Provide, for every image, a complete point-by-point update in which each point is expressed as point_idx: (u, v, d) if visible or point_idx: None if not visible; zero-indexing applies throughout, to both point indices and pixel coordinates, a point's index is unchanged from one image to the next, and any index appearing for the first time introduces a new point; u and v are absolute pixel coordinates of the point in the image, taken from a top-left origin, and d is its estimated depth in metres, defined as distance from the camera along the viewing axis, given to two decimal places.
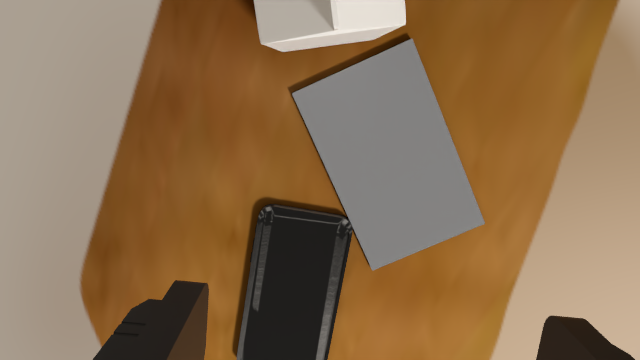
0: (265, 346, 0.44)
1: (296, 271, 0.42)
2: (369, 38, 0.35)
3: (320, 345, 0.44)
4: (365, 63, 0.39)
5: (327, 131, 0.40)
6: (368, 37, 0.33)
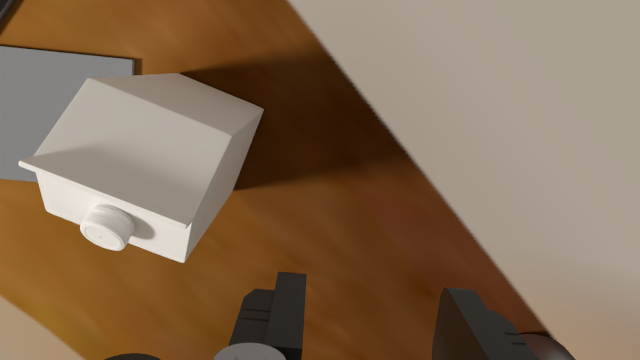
0: None
1: None
2: None
3: None
4: None
5: (80, 72, 0.38)
6: None
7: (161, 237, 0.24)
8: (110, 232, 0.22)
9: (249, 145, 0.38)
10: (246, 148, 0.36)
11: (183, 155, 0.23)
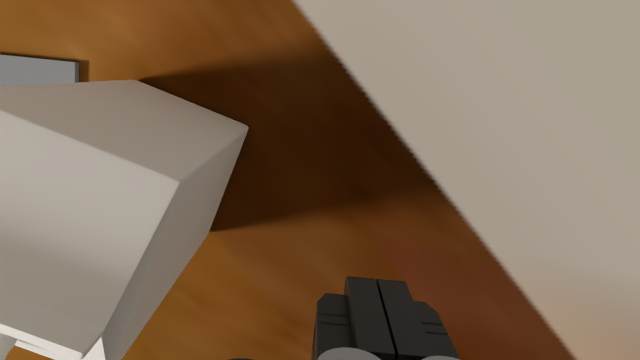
0: None
1: None
2: None
3: None
4: None
5: (6, 79, 0.28)
6: None
7: None
8: None
9: (229, 174, 0.29)
10: (224, 180, 0.27)
11: (94, 217, 0.14)
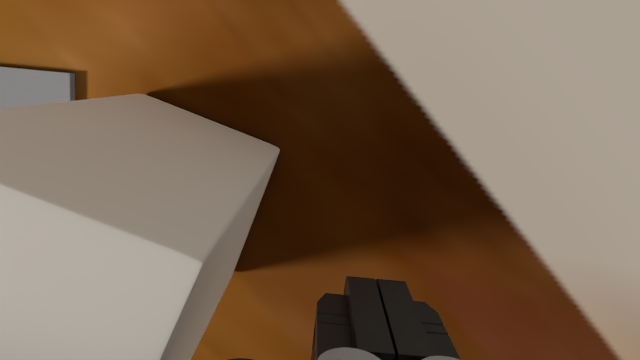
0: None
1: None
2: None
3: None
4: None
5: None
6: None
7: None
8: None
9: (257, 207, 0.24)
10: (252, 217, 0.22)
11: (69, 330, 0.09)
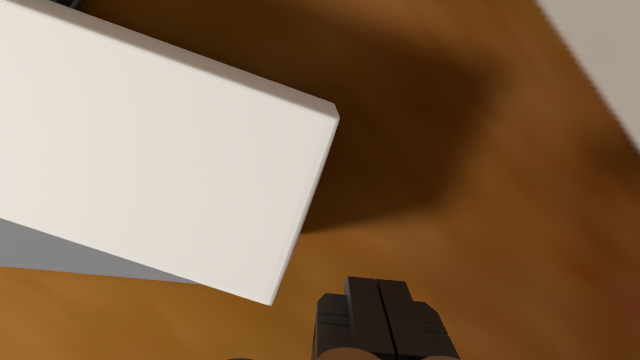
0: None
1: None
2: None
3: None
4: None
5: None
6: None
7: None
8: None
9: (282, 189, 0.17)
10: (230, 168, 0.17)
11: None
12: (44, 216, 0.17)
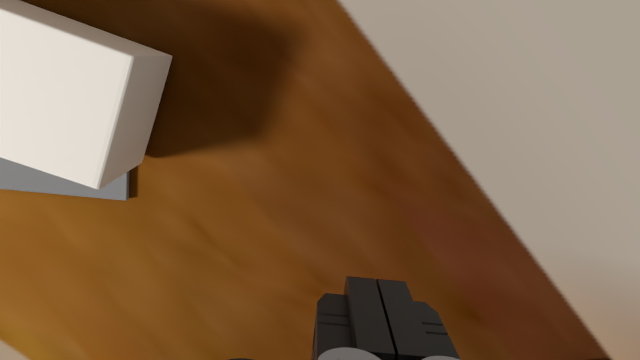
0: None
1: None
2: None
3: None
4: None
5: None
6: None
7: None
8: None
9: (98, 105, 0.25)
10: (61, 90, 0.25)
11: None
12: None
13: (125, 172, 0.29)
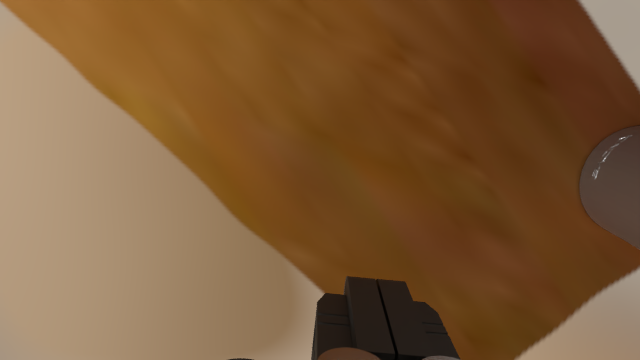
0: None
1: None
2: None
3: None
4: None
5: None
6: None
7: None
8: None
9: None
10: None
11: None
12: None
13: None
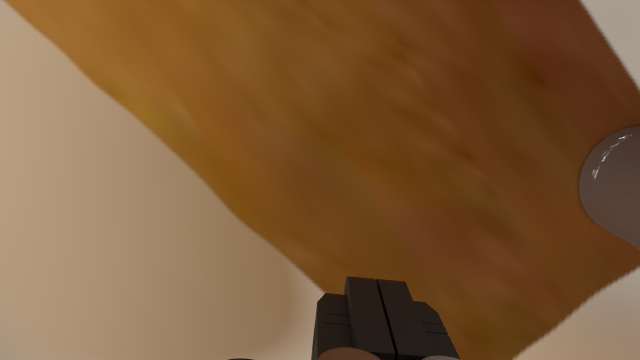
0: None
1: None
2: None
3: None
4: None
5: None
6: None
7: None
8: None
9: None
10: None
11: None
12: None
13: None
